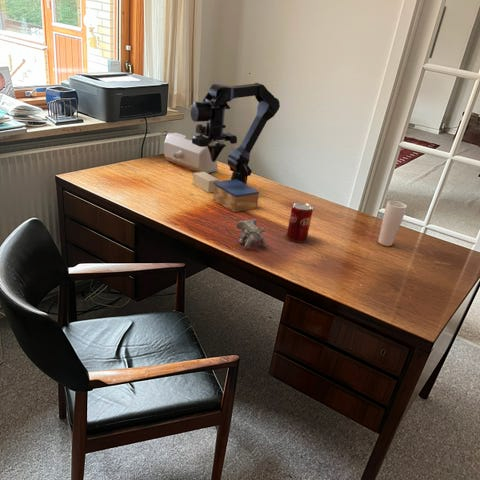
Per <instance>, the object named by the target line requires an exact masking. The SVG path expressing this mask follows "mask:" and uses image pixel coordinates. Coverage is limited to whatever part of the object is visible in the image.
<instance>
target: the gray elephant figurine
mask: <svg viewBox="0 0 480 480" xmlns="http://www.w3.org/2000/svg"><path fill="white" fill-rule="evenodd" d="M236 229H238V230H240V231H241V232H240V239H239V240H238V243H239V244H240V245H243V244H244V243H245V244H244V249H245V250H249V249H250V246H251V245H252V243H253V244H254V245H255V244H256V243H260V245H261V246H262V247H265V246H266V239H265V238H264V236H263V234H262V233H265V231H266V230H265V227H262V226H261V227H258V226H257V219H256V218H252V219H248V220H239V221H237V222H236ZM245 241H246V242H245Z"/></svg>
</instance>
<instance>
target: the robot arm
mask: <svg viewBox="0 0 480 480" xmlns="http://www.w3.org/2000/svg"><path fill="white" fill-rule="evenodd" d="M249 97H255V100H256V101H257V102H258V104H257V106H256V115H255V117H254V119H253V121H252V123H251V125H250V127H249V128H248V130H247V132H246V134H245V136H244V138H243V140H242V141H241V143H240V145H239V146H238V147H237V148H232V149H231V151H230V153H229V155H227V165H228V167H229V170H230V171H231V172H232V174H231V176H230V180H234V179H237V180H239V181H241V182H243V183H245V184H247V185H248V177H250V176H251V174H252V172H253V171H252V169H251V168H250V166H249V163H250V157H251V156H250V155H251V154H250V153H251V151H252V149H253V148H254V146H255V144H256V142H257V141H258V139H259V137H260V136H261V133H262V132H263V130H264V129H265V126H266V125H267V123H268V121H269V120H271V119H272V118H274V117H275V116H276V114H277V113H278V111H279V110H280V108H281V107H280V106H281V104H280V100H279V99H278V98H277V97H275V95H273V94H272V92H271V91H269V90H268V89H267V87H266V86H265V85H264V84H262V83H259V82H254V83H247V84H239V85H225V84H219V83H213V84H211V85H210V87H209V90H208V92H207V94H206V95H205V97H204V98H203V99H202V101H193V105H192V106H191V109H190V111H189V112H190V117H191V121H192V122H194V123H196V122H197V123H198V124H196V125H195V133H196V134H199V135H193V137H192V138H191V140H192V143H193V144H195V145H197V146H200V147H206V146H207V147H208V149H209V152H210V156H211V160H212V162H215V161H216V160H217V159H218V157H219V155H220V154H221V152H222V151H223V149H224V148H225V147H226V146H227V145H226V144H225V142H229V143H230V144H232V145H234V144H237V143H238V137H237V135H235V134H234V133H231V132H224V129H226V127H227V126H226V124H225V116H226V115H225V114H226V110H230V109H231V106H230V105H229V104H228V103H230V102H231V101H233V100H234V99H239V98H249ZM199 122H200V123H201V122H206V123H205V124H206V125H205V126H203V124H202V123H201V124H199Z"/></svg>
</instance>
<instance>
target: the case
mask: <svg viewBox="0 0 480 480" xmlns="http://www.w3.org/2000/svg"><path fill="white" fill-rule="evenodd" d="M214 182H220V179H218V178H217V177H215V176H214V175H211V174H210V173H206V172H193V181H192V184H193V185H194V186H196V187H197V188H199V189H201V190H203V191H204V192H206V193H207V194H208V193H214V186H216V185H214Z"/></svg>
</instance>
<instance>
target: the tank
mask: <svg viewBox="0 0 480 480" xmlns="http://www.w3.org/2000/svg"><path fill="white" fill-rule="evenodd" d="M163 155H164V157H165V159H166V161H167V162H170V163H172V164H175V165H177V166H180V167H183V168H186V169H188V170H190V171H193V172H195V173H197V172H206V173H208V174H211V173H214V172H217V171H218V170H219V167H218V161H217V159H216V161H215V162H212V160H211V156H210V152H209V149H208V147H207V146H206V147H200V146H197V145H195V144H193V143H192V139H187V135H184V134H183V133H182V134H181V133H178V132H170V133H167V134H166V136H165V140H164V142H163Z"/></svg>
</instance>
